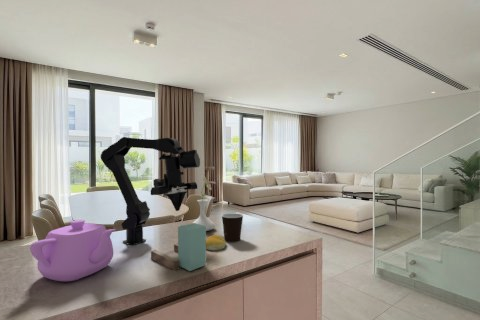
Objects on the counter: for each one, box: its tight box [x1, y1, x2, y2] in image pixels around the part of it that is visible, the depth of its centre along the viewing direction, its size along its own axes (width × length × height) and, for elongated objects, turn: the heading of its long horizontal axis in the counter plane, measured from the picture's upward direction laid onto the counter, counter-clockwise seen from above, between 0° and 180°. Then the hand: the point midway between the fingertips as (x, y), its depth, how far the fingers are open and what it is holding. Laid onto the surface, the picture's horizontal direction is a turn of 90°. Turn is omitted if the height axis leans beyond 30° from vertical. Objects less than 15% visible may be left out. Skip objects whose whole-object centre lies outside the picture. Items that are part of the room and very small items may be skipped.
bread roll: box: [206, 234, 227, 251], centre depth 98 cm, size 8×9×4 cm
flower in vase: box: [192, 175, 216, 232], centre depth 122 cm, size 13×11×25 cm
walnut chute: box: [150, 242, 184, 271], centre depth 86 cm, size 14×10×2 cm
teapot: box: [29, 219, 116, 282], centre depth 74 cm, size 23×21×15 cm
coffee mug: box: [221, 212, 244, 243], centre depth 108 cm, size 12×9×10 cm
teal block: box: [177, 222, 207, 272], centre depth 80 cm, size 6×6×12 cm
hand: (177, 210), depth 100 cm, fingers closed
